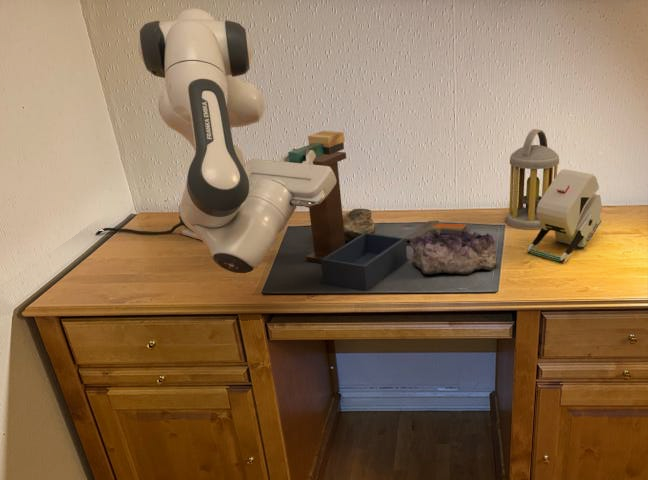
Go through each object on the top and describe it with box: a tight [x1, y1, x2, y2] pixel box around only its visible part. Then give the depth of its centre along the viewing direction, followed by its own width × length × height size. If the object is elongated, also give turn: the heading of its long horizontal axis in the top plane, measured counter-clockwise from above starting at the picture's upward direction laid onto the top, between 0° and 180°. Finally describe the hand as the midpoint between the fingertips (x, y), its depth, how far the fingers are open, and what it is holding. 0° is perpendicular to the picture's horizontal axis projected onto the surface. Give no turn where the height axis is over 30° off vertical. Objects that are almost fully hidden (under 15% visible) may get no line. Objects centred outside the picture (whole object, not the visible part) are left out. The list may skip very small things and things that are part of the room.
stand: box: [301, 151, 347, 264], centre depth 160 cm, size 8×10×25 cm
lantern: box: [505, 128, 560, 230], centre depth 180 cm, size 14×14×25 cm
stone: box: [342, 208, 376, 242], centre depth 176 cm, size 14×10×10 cm
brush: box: [287, 130, 345, 163], centre depth 134 cm, size 15×5×4 cm, turn 154°
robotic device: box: [526, 169, 603, 264], centre depth 163 cm, size 10×21×20 cm
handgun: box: [406, 219, 467, 246], centre depth 176 cm, size 2×16×12 cm
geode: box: [410, 230, 497, 275], centre depth 155 cm, size 20×12×10 cm, turn 96°
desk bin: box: [320, 233, 408, 292], centre depth 155 cm, size 12×20×6 cm, turn 154°
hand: (304, 151), depth 132 cm, fingers closed on brush, 2 cm apart
